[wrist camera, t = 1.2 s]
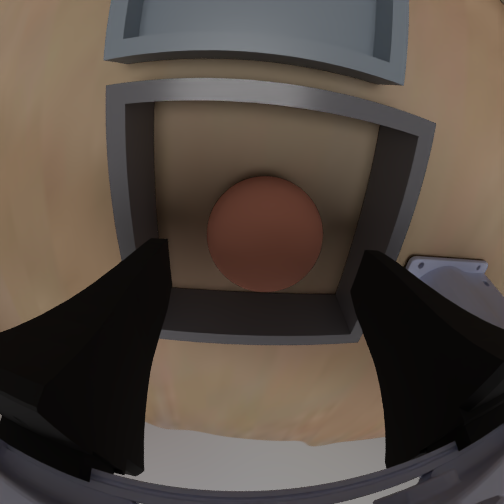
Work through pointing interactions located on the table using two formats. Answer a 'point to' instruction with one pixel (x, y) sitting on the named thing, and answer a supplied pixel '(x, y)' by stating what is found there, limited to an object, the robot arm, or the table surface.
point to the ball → (264, 234)
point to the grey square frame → (250, 303)
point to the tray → (266, 33)
